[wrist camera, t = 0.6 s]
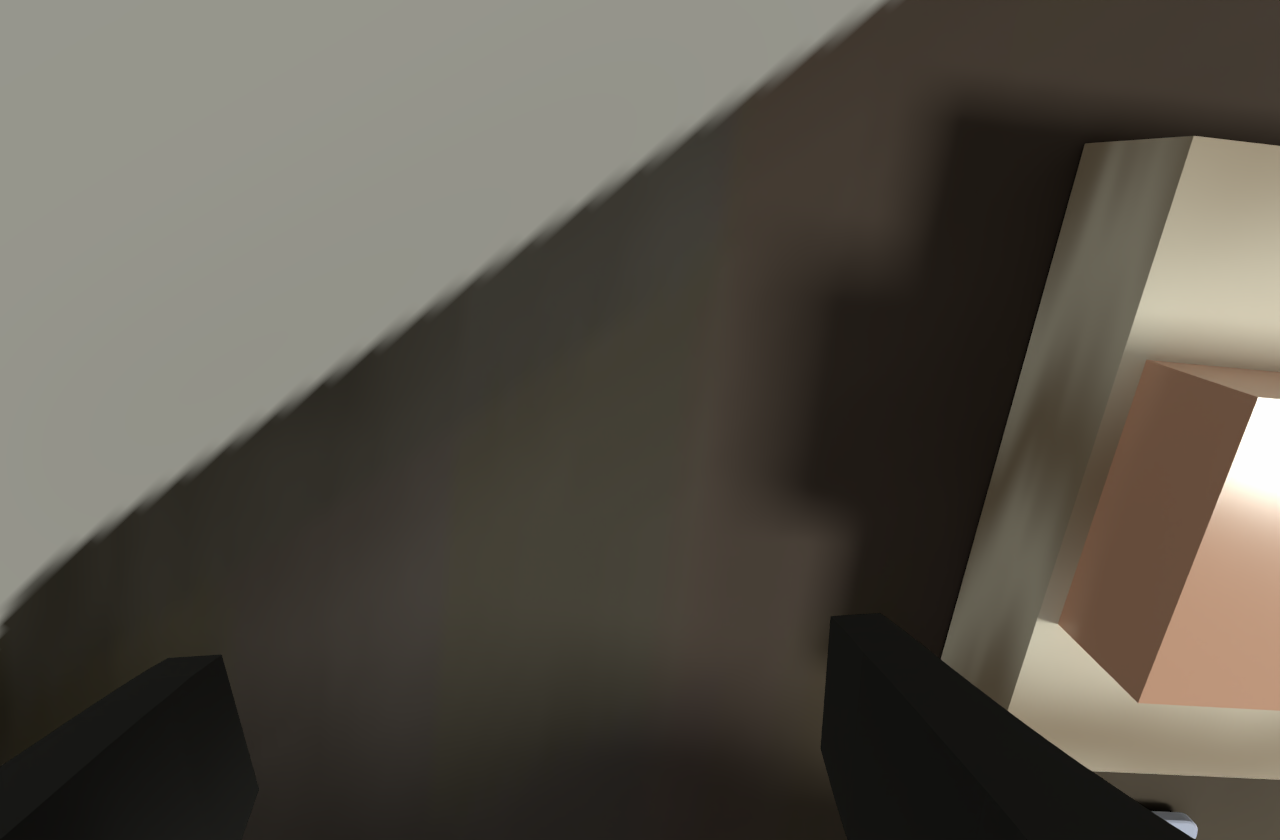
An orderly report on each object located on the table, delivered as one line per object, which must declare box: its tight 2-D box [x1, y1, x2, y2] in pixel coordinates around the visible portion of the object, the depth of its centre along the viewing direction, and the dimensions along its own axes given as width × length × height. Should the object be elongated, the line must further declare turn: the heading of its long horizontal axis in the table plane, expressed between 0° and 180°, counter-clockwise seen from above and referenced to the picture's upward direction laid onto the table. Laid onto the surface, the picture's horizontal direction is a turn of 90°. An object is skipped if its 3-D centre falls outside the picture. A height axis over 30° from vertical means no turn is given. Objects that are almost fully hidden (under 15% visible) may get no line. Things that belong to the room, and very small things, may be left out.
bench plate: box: [941, 136, 1280, 780], centre depth 16 cm, size 14×9×3 cm, turn 174°
